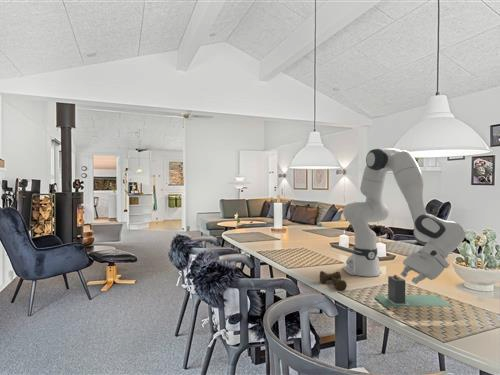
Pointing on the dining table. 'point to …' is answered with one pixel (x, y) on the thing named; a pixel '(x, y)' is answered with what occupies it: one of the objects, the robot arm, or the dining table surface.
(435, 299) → the board
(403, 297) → the block
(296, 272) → the dining table surface
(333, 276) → the kendama
